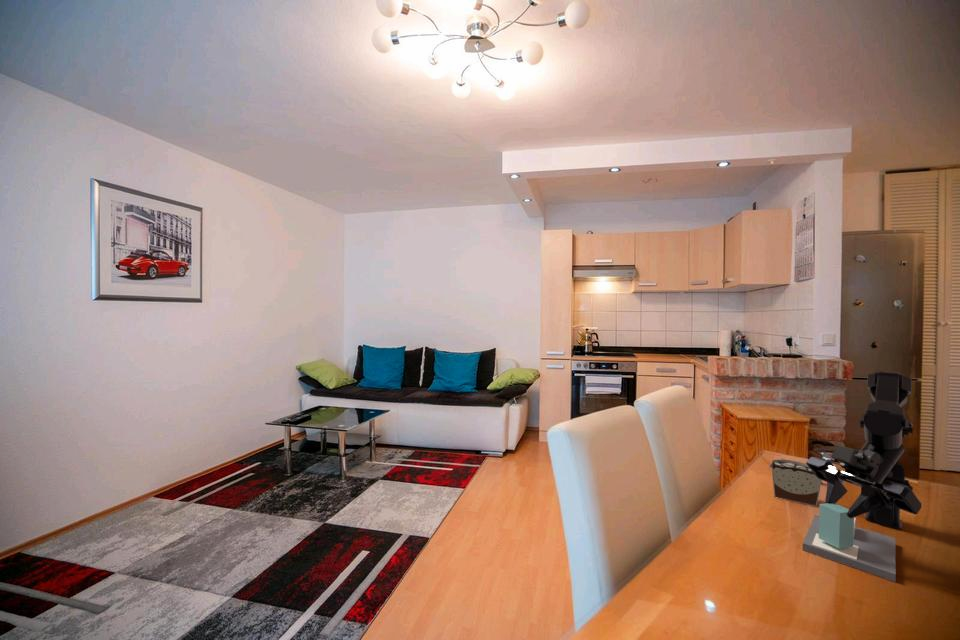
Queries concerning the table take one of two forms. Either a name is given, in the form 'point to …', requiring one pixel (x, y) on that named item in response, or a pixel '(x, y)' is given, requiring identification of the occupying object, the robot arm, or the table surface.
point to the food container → (795, 482)
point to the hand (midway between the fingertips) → (837, 511)
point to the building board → (857, 550)
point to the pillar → (835, 525)
